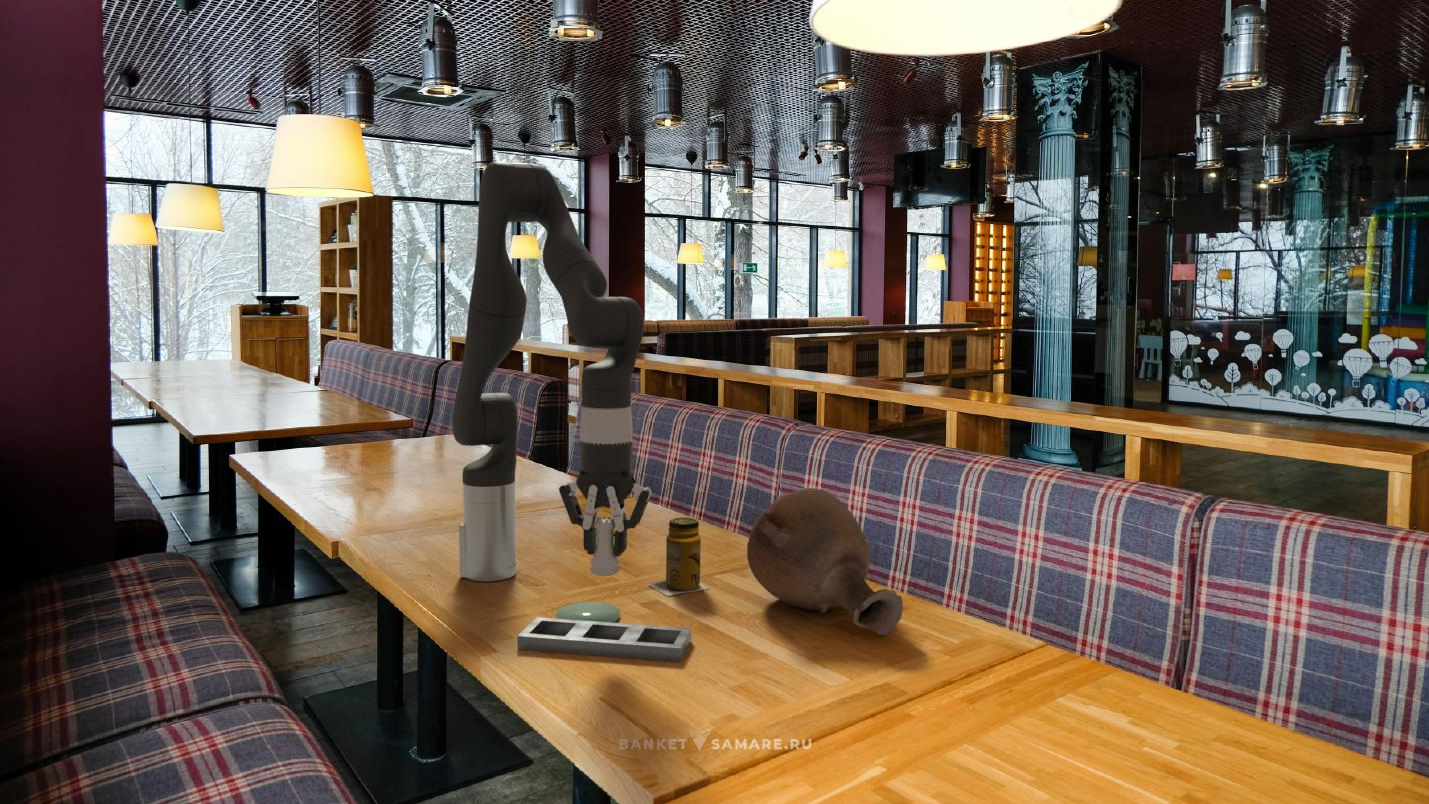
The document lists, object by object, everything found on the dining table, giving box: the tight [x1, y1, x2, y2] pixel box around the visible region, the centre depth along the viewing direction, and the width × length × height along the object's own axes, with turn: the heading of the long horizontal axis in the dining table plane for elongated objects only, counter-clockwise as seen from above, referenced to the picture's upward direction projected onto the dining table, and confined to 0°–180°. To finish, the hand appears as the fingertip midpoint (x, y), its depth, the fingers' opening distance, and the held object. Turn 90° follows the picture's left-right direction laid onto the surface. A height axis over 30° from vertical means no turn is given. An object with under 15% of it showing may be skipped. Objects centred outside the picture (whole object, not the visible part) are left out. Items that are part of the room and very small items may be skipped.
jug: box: [746, 487, 904, 637], centre depth 151 cm, size 20×20×30 cm
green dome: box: [555, 601, 621, 623], centre depth 148 cm, size 10×10×1 cm
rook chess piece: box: [589, 515, 621, 577], centre depth 135 cm, size 4×4×8 cm
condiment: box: [647, 517, 710, 597], centre depth 163 cm, size 7×8×12 cm
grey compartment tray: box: [517, 616, 692, 663], centre depth 136 cm, size 24×8×2 cm, turn 81°
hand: (605, 553), depth 135 cm, fingers closed on rook chess piece, 3 cm apart
